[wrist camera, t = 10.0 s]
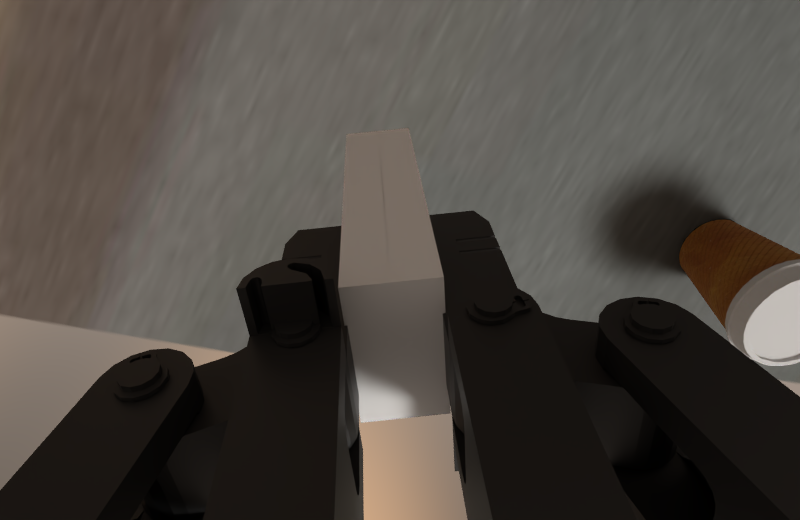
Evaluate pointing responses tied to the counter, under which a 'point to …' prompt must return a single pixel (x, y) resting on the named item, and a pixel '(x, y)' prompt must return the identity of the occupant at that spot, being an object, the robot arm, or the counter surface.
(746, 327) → the disposable coffee cup
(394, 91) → the counter surface
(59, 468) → the robot arm
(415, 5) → the counter surface
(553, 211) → the counter surface
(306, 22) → the counter surface
